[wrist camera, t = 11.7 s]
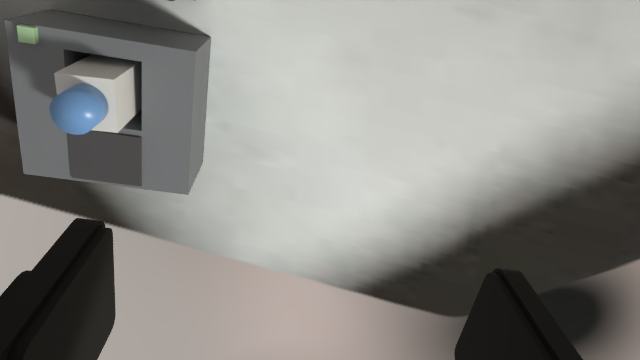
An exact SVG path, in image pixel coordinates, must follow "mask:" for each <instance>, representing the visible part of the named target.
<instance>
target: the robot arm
mask: <svg viewBox="0 0 640 360" xmlns="http://www.w3.org/2000/svg"><path fill="white" fill-rule="evenodd" d="M113 260H114V259H113V233H112V229H111V228H105V224H104V222H103V221H98V220H90V219H81V218H77V219H75V220H74V221H73V222H72V223H71V224H70V225H69V227H68V228H67V229H66V230H65V231H64V233H63V234H62V235H61V236H60V238H59V239H58V240H57V241H56V242H55V243H54V245H53V246H52V247H51V248H50V250H49V251H48V252H47V253H46V254H45V255H44V257H43V258H42V259H41V260H40V261H39V263H38V264H37V265H36V266H35V267H34V269H33V270H32V271H24V272H22V273H21V274H20V275H19V276H17V277H16V279H15V280H14V281H13V282H12V283H11V284H10V286H9V287H8V288H7V289H6V290H5V291H4V293H3V294H2V295H1V296H0V360H97V359H98V357H99V355H100V353H101V351H102V349H103V347H104V345H105V343H106V341H107V338H108V337H109V335H110V332H111V330H112V328H113V325H114V320H115V289H114V261H113ZM455 360H583V359H582V358H581V357H580V355H579V354H578V352H577V351H576V349H575V348H574V346H573V345H572V344H571V342H570V341H569V339H568V338H567V337H566V335H565V334H564V332H563V331H562V329H561V328H560V327H559V325H558V324H557V322H556V321H555V319H554V318H553V317H552V315H551V314H550V313H549V311H548V310H547V308H546V307H545V305H544V304H543V303H542V301H541V300H540V298H539V297H538V295H537V294H536V292H535V291H534V290H533V288H532V287H531V285H530V284H529V283H528V281H527V280H526V278H525V277H524V275H523V274H522V273H521V272H520V271H517V270H509V269H500V268H497V269H495V270H494V271H493V272H492V273H488V274H487V275H486V277H485V279H484V281H483V283H482V286H481V288H480V291H479V293H478V295H477V298H476V300H475V302H474V305H473V307H472V309H471V312H470V314H469V316H468V319H467V321H466V323H465V326H464V328H463V331H462V333H461V335H460V338H459V340H458V342H457V345H456V348H455Z"/></svg>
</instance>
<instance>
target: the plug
mask: <svg viewBox="0 0 640 360" xmlns="http://www.w3.org/2000/svg"><path fill="white" fill-rule="evenodd" d="M54 76H55V84H56V91H57V96H55V97H54V98H53V99H52V101H51V103H50V108H49V109H50V115H51V118H52V120H53V121H54V123H55V124H56V125H57V126H58V127H59V128H60V129H62V130H63V131H65V132H67V133H70V134H74V135H81V134H85V133H87V132H89V131H90V130H94V131H104V132H114V133H118V132H119V131H120V130H121V129H122V128H123V127H124V126H125V125H126V124H127V123H128V122H129V121H130V120H131V119H132V118H133V117H134V116H135V115H136V114H137V113H138V112H139V111H140V110H141V109H142V62H140V61H134V60H128V59H121V58H115V57H109V56H103V55H97V54H92V55H90V56H88V57H86V58H84V59H82V60H80V61H77V62H75V63H73V64H71V65H69V66H67V67H65V68H63V69H61V70H59V71H57V72H55V73H54Z"/></svg>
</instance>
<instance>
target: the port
mask: <svg viewBox="0 0 640 360" xmlns="http://www.w3.org/2000/svg"><path fill="white" fill-rule="evenodd" d="M4 24H5V31H6V39H7V47H8V55H9V63H10V70H11V78H12V86H13V94H14V101H15V109H16V117H17V125H18V133H19V140H20V148H21V156H22V164H23V172H24V174H30V175H38V176H46V177H53V178H61V179H69V180H77V181H85V182H93V183H100V184H108V185H116V186H124V187H132V188H139V189H147V190H155V191H163V192H171V193H179V194H186V195H188V194H189V192H190V190H191V187H192V185H193V183H194V181H195V179H196V176H197V174H198V172H199V170H200V167H201V165H202V163H203V150H204V135H205V119H206V104H207V89H208V74H209V59H210V44H211V37H208V36H202V35H197V34H191V33H185V32H179V31H173V30H167V29H161V28H155V27H150V26H144V25H138V24H132V23H126V22H120V21H114V20H108V19H102V18H97V17H91V16H85V15H79V14H73V13H67V12H61V11H55V10H46V11H42V12H37V13H33V14H29V15H24V16H20V17H15V18H11V19H6V20H4ZM92 54H97V55H103V56H109V57H115V58H121V59H128V60H134V61H140V62H142V109H141V110H140V111H139V112H138V113H137V114H136V115H135V116H134V117H133V118H132V119H131V120H130V121H129V122H128V123H127V124H126V125H125V126H124V127H123V128H122V129H121V130H120V131H119V132H118V133H114V132H104V131H94V130H90V131H89V132H87V133H85V134H81V135H74V134H70V133H67V132H65V131H63V130H62V129H60V128H59V127H58V126H57V125H56V124H55V123H54V121H53V120H52V118H51V115H50V109H49V108H50V103H51V101H52V99H53V98H54V97H55V96H57V91H56V84H55V76H54V73H55V72H57V71H59V70H61V69H63V68H65V67H67V66H69V65H71V64H73V63H75V62H77V61H80V60H82V59H84V58H86V57H88V56H90V55H92Z"/></svg>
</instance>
